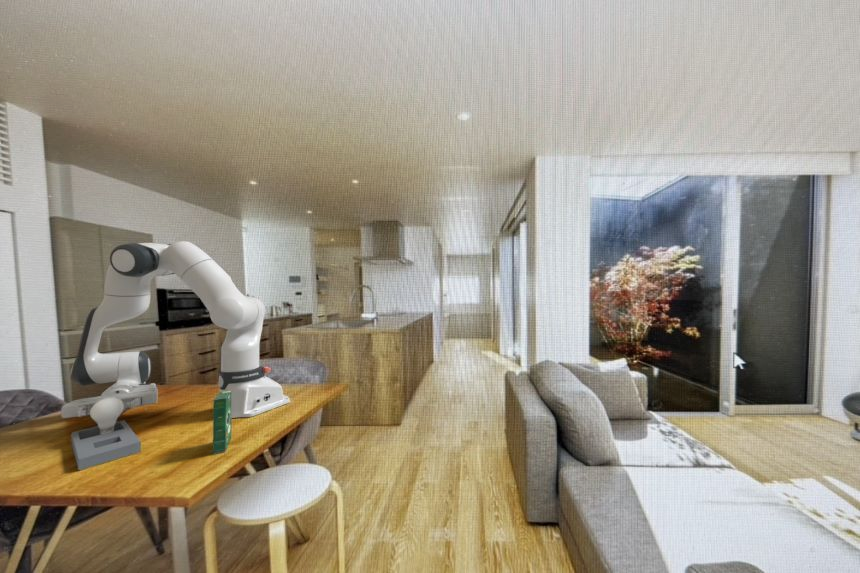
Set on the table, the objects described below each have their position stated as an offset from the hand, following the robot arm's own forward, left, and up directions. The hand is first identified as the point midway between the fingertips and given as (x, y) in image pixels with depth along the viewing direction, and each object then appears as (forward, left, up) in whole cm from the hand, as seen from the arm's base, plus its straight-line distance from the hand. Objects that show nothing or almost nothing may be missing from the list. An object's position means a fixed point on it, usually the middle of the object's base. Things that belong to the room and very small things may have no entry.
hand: (106, 409), depth 85 cm
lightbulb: (0, +5, -7) cm, 8 cm away
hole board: (+1, +11, -7) cm, 13 cm away
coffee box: (-17, +37, -7) cm, 41 cm away
